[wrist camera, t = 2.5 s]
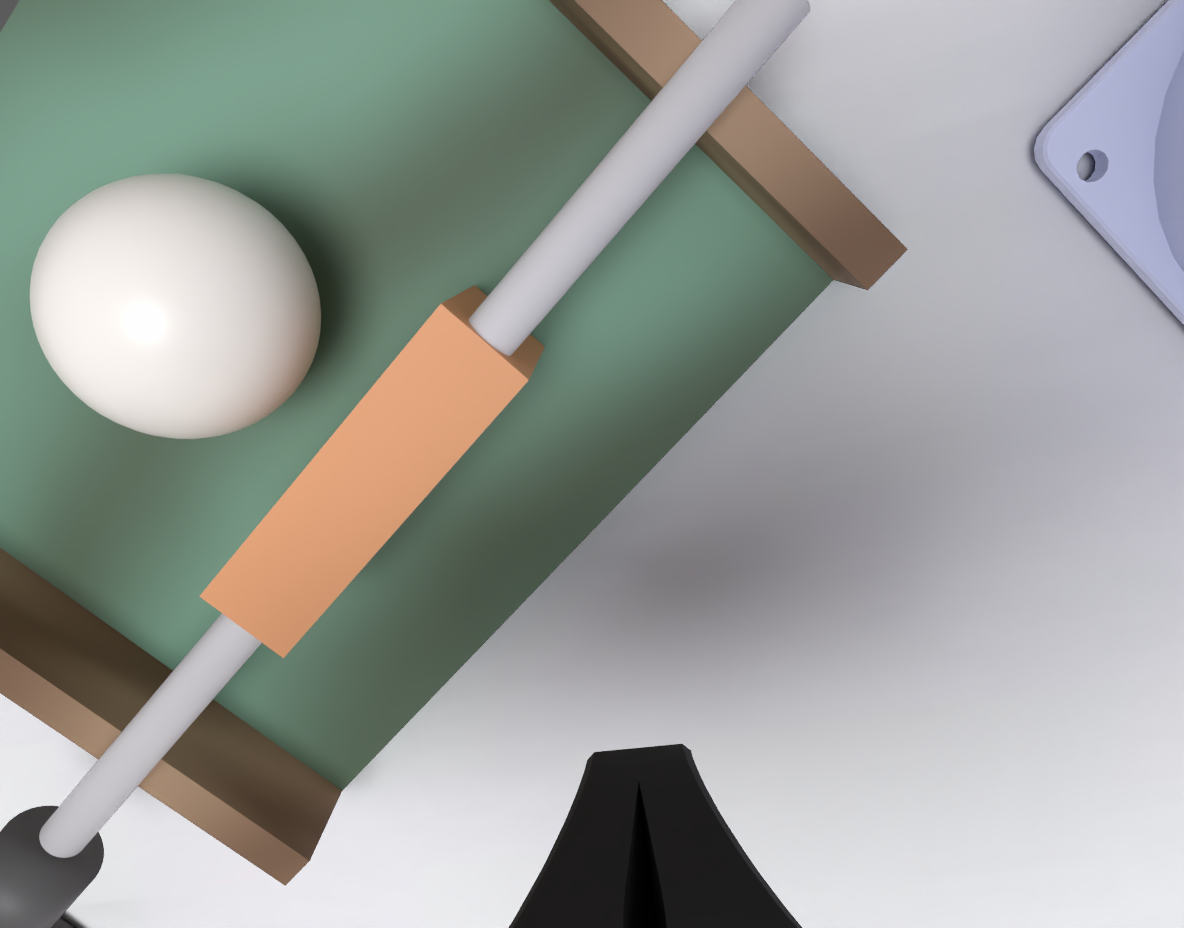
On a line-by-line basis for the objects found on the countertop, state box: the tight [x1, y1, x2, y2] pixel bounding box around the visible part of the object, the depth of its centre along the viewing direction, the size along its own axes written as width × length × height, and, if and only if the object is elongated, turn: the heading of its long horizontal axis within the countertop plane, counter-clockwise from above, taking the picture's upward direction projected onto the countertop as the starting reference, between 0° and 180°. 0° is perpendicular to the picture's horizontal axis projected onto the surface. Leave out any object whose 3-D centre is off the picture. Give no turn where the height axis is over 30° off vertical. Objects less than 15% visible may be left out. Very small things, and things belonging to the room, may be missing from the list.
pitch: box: [0, 0, 908, 885], centre depth 14 cm, size 22×16×3 cm
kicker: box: [0, 0, 810, 928], centre depth 14 cm, size 2×20×3 cm, turn 138°
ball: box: [30, 173, 321, 439], centre depth 13 cm, size 4×4×4 cm
